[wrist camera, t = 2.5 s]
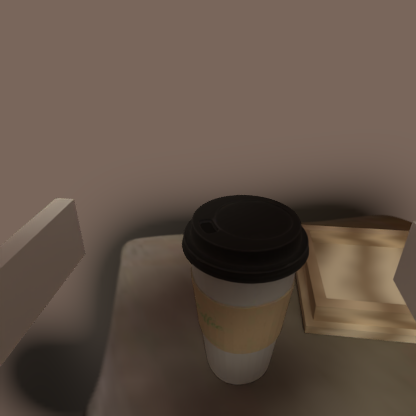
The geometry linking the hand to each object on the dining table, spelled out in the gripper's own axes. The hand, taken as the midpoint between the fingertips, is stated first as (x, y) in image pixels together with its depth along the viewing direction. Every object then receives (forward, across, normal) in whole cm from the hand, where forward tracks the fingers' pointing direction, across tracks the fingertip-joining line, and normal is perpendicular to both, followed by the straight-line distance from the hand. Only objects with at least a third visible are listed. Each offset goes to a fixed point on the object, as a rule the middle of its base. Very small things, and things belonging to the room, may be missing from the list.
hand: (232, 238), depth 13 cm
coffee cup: (+10, +1, -20) cm, 22 cm away
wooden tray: (+22, +16, -20) cm, 33 cm away
